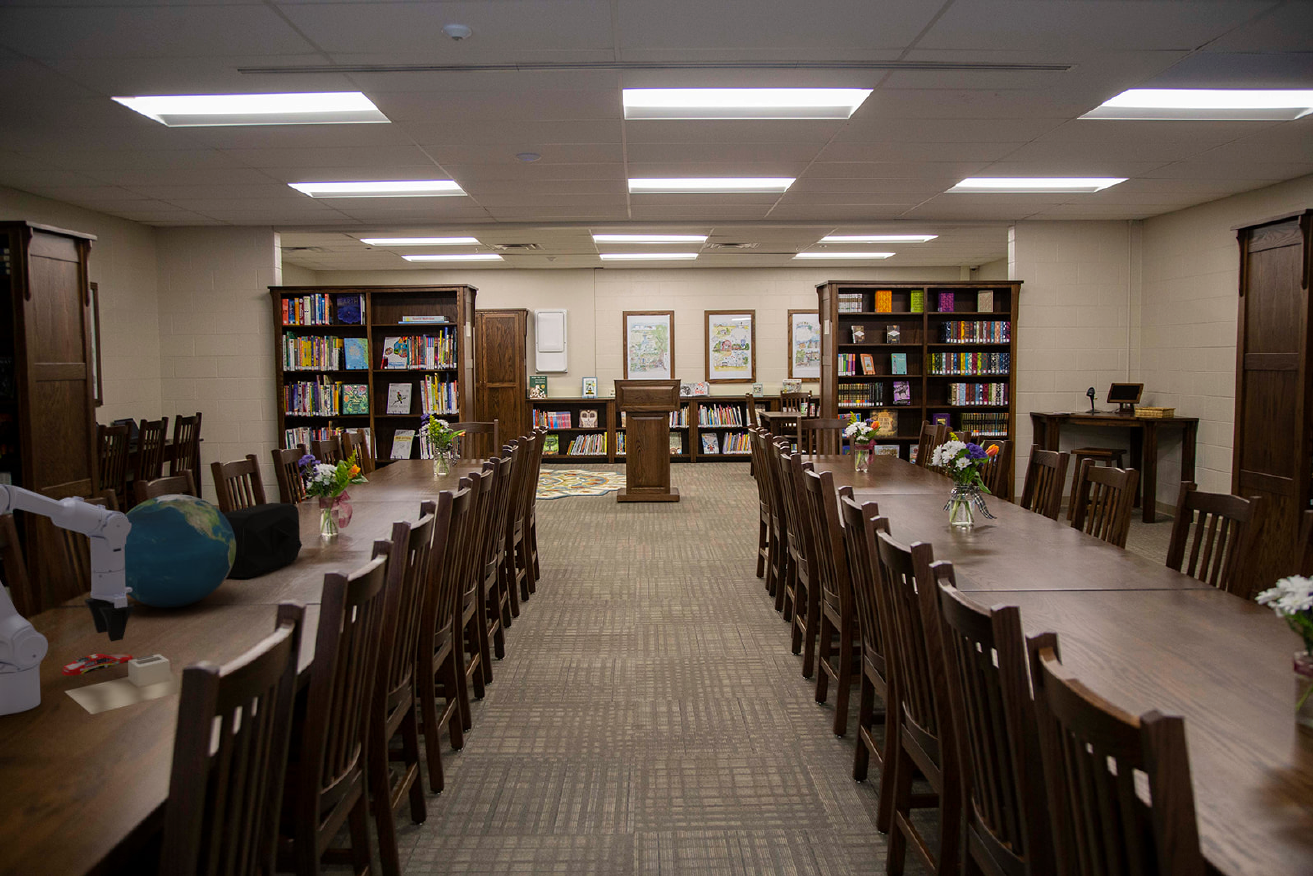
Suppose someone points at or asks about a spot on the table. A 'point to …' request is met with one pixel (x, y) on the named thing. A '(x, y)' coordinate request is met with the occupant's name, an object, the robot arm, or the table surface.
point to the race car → (94, 663)
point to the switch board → (121, 693)
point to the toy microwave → (148, 670)
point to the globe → (177, 550)
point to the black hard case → (264, 538)
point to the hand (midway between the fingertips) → (110, 636)
